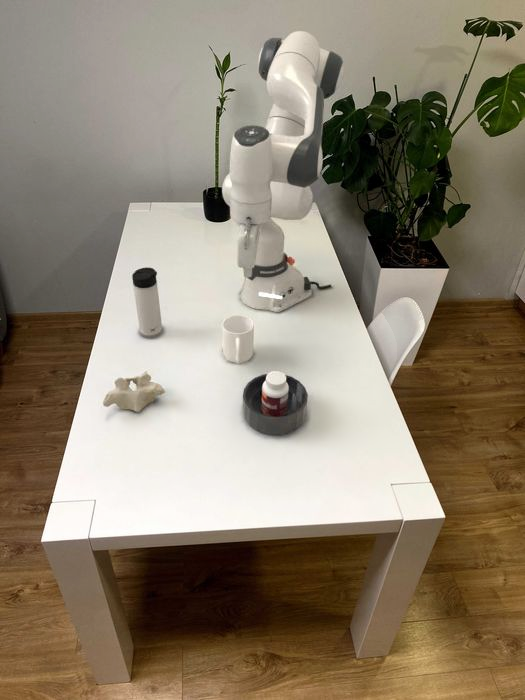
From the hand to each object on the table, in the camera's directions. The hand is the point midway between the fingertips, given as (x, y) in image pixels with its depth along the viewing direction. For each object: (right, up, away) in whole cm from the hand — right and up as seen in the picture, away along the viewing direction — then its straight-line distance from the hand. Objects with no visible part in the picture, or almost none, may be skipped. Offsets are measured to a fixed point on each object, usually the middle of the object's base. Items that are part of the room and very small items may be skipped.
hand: (250, 264), depth 125 cm
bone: (-27, -33, +9) cm, 43 cm away
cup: (-4, -22, +22) cm, 32 cm away
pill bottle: (+6, -35, +7) cm, 36 cm away
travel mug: (-29, -15, +30) cm, 44 cm away
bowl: (+6, -35, +7) cm, 36 cm away
